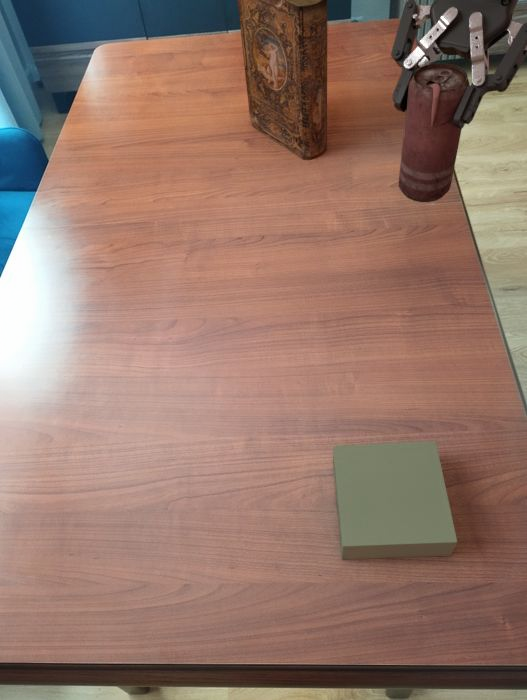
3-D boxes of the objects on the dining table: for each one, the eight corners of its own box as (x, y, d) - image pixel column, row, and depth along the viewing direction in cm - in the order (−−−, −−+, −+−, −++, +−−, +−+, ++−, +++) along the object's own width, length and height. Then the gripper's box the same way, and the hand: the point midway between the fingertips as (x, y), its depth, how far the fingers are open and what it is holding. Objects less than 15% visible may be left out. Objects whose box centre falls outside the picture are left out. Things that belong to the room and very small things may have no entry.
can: (398, 205, 69) (410, 93, 58) (397, 172, 73) (409, 61, 62) (451, 205, 68) (474, 91, 57) (448, 172, 72) (468, 59, 61)
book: (331, 149, 103) (333, -4, 84) (308, 162, 102) (304, 8, 82) (273, 114, 112) (262, -33, 92) (250, 125, 110) (234, -22, 90)
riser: (430, 457, 66) (435, 440, 63) (450, 555, 59) (457, 542, 56) (333, 462, 67) (333, 445, 63) (341, 559, 60) (342, 546, 57)
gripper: (423, -83, 58) (356, 89, 62) (572, -65, 51) (486, 125, 56) (440, -42, 64) (379, 111, 68) (574, -21, 58) (497, 145, 62)
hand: (427, 116), depth 62 cm, fingers closed on can, 6 cm apart
